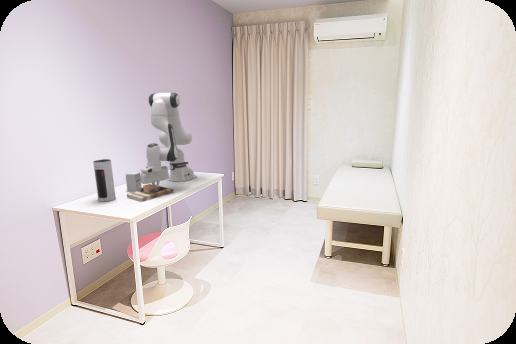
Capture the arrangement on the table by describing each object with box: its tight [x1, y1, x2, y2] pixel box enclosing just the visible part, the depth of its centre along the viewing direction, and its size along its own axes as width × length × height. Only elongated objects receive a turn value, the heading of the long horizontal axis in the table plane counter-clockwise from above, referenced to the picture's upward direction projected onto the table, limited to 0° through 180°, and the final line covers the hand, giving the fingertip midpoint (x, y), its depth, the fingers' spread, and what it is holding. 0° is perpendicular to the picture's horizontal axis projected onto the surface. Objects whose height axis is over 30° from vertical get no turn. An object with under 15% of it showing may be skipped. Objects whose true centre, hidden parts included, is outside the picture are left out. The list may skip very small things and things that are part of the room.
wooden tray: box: [126, 185, 174, 203], centre depth 218 cm, size 25×16×5 cm, turn 142°
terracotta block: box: [142, 183, 154, 193], centre depth 217 cm, size 5×5×4 cm
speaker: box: [92, 158, 116, 203], centre depth 207 cm, size 11×10×26 cm
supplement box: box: [125, 171, 143, 193], centre depth 230 cm, size 7×7×13 cm
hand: (156, 187), depth 221 cm, fingers closed
